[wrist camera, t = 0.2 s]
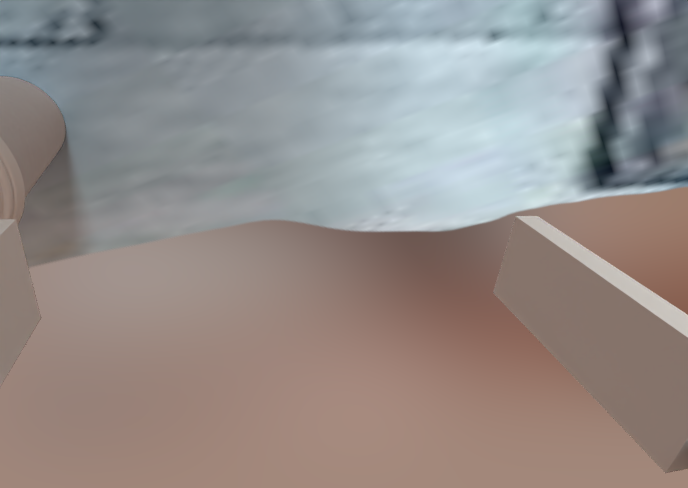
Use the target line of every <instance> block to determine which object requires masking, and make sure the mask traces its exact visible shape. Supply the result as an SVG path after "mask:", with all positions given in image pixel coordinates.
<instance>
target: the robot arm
mask: <svg viewBox="0 0 688 488" xmlns="http://www.w3.org/2000/svg"><path fill="white" fill-rule="evenodd" d="M493 293H494V294H495V295H496V296H497V297H498V298H499V299H500V300H501V301H502V302H503V303H504V304H505V306H506V307H508V309H509V310H510V311H511V312H512V313H513V314H514V315H515V316H516V317H517V318H518V319H519V320H520V321H521V322H522V323H523V324H524V325H525V326H526V327H527V328H528V329H529V331H530V332H531V333H532V334H533V335H535V337H536V338H537V339H538V340H539V341H540V342H541V343H542V344H543V345H544V346H545V347H546V348H547V349H548V350H549V351H550V353H551V354H552V355H553V356H554V357H555V358H556V359H557V360H558V361H559V362H560V363H561V364H562V365H563V366H564V367H565V368H566V369H567V370H568V371H569V372H570V373H571V375H572V376H573V377H574V378H575V379H576V380H577V381H578V382H579V383H580V384H581V385H582V386H583V387H584V388H585V389H586V390H587V391H588V392H589V393H590V394H591V395H592V396H593V398H594V399H595V400H596V401H597V402H598V403H599V404H600V405H601V406H602V407H603V408H604V409H605V410H606V411H607V412H608V413H609V414H610V415H611V416H612V417H613V419H615V421H616V422H617V423H618V424H619V425H620V426H621V427H622V428H623V429H624V430H625V431H626V432H627V433H628V434H629V435H630V436H631V437H632V438H633V439H634V440H635V442H636V443H637V444H638V445H639V446H640V447H641V448H642V449H643V450H644V451H645V452H646V453H647V454H648V455H649V456H650V457H651V458H652V459H653V460H654V461H655V462H656V463H657V465H658V466H659V467H660V468H661V469H662V470H663V471H664V472H665V473H668V472H673V471H678V470H683V469H688V315H687V314H686V313H684V312H682V311H681V310H680V309H678V308H676V307H675V306H673V305H672V304H670V303H668V302H667V301H666V300H664V299H663V298H661V297H660V296H658V295H657V294H655V293H654V292H652V291H651V290H649V289H648V288H646V287H644V286H643V285H641V284H640V283H638V282H637V281H635V280H634V279H632V278H631V277H629V276H628V275H626V274H625V273H623V272H621V271H620V270H618V269H617V268H615V267H614V266H612V265H611V264H609V263H608V262H606V261H605V260H603V259H602V258H600V257H598V256H597V255H596V254H594V253H593V252H591V251H590V250H588V249H587V248H585V247H584V246H582V245H581V244H579V243H577V242H576V241H574V240H573V239H571V238H570V237H568V236H567V235H565V234H564V233H562V232H560V231H559V230H558V229H556V228H555V227H553V226H552V225H550V224H549V223H547V222H545V221H544V220H542V219H541V218H539V217H538V216H516V217H515V221H514V224H513V227H512V231H511V234H510V238H509V241H508V244H507V248H506V251H505V254H504V258H503V261H502V264H501V268H500V271H499V275H498V278H497V282H496V285H495V288H494V292H493ZM40 319H41V315H40V312H39V308H38V304H37V300H36V296H35V292H34V288H33V284H32V280H31V276H30V272H29V268H28V264H27V260H26V256H25V253H24V249H23V245H22V241H21V237H20V233H19V229H18V225H17V221H16V219H0V387H1V385H2V383H3V382H4V380H5V378H6V377H7V375H8V373H9V372H10V370H11V368H12V367H13V365H14V363H15V361H16V360H17V358H18V356H19V355H20V353H21V351H22V350H23V348H24V346H25V344H26V343H27V341H28V339H29V338H30V336H31V334H32V332H33V331H34V329H35V327H36V326H37V324H38V322H39V321H40Z"/></svg>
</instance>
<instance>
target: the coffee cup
mask: <svg viewBox="0 0 688 488" xmlns="http://www.w3.org/2000/svg"><path fill="white" fill-rule="evenodd" d="M65 132H66V129H65V122H64V119H63V116H62V114H61V111H60V110H59V108H58V106H57V105H56V103H55V102H54V101H53V100H52V99H51V98H50V97H49V96H48V95H47V94H46V93H45V92H44V91H42V90H41V89H40V88H38V87H37V86H35V85H33V84H31V83H29V82H27V81H24V80H21V79H18V78H14V77H7V76H0V219H16V221H17V225H18V224H19V222H20V219H21V217H22V214H23V210H24V205H25V197H26V196H27V195H28V193H29V192H30V190H31V189H32V187H33V186H34V185H35V183H36V182H37V180H38V179H39V178H40V176H41V175H42V174H43V172H44V171H45V169H46V168H47V167H48V165H49V164H50V162H51V161H52V160H53V158H54V157H55V156H56V154H57V153H58V151H59V150H60V148H61V147H62V145H63V142H64V139H65Z"/></svg>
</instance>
